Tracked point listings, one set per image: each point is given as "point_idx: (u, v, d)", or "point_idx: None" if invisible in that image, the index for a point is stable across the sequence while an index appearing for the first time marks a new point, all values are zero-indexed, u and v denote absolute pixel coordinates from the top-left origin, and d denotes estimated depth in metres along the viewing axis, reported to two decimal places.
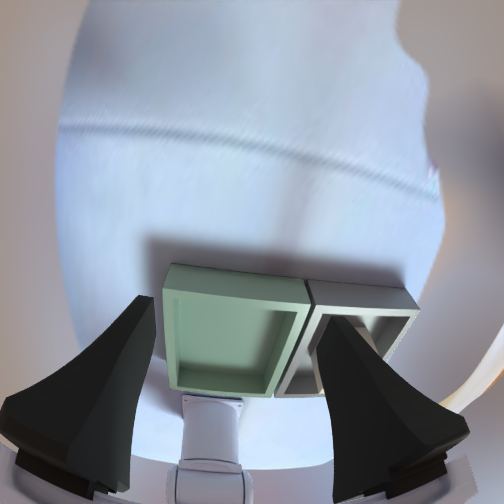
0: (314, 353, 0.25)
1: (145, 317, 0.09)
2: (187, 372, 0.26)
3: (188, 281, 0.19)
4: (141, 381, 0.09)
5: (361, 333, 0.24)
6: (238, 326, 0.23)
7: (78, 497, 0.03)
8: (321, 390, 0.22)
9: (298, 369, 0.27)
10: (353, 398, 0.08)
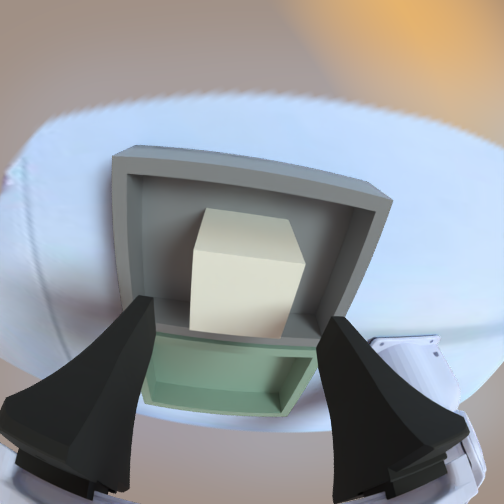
0: None
1: (145, 317, 0.09)
2: (281, 392, 0.24)
3: None
4: (141, 381, 0.09)
5: None
6: (203, 356, 0.21)
7: (78, 497, 0.03)
8: (269, 336, 0.13)
9: (302, 295, 0.18)
10: (353, 398, 0.08)
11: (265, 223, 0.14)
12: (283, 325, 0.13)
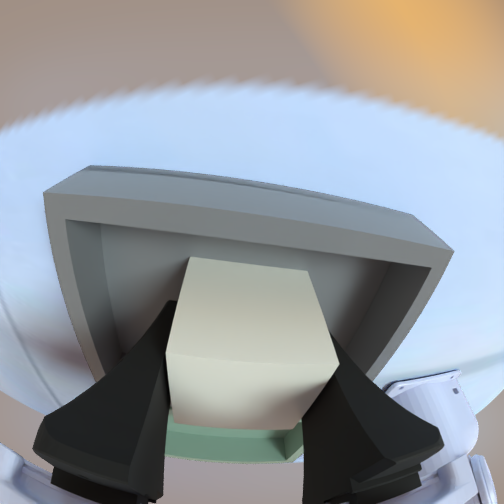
0: None
1: None
2: (286, 438, 0.19)
3: None
4: None
5: None
6: None
7: (78, 497, 0.03)
8: (279, 428, 0.09)
9: None
10: (321, 401, 0.08)
11: (276, 282, 0.10)
12: (298, 419, 0.09)
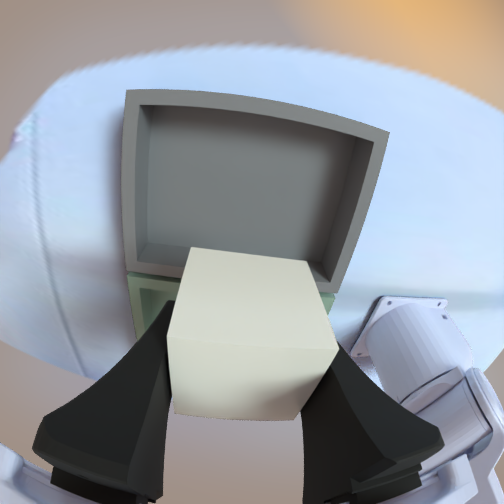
0: None
1: None
2: None
3: None
4: None
5: None
6: None
7: (78, 497, 0.03)
8: (280, 419, 0.09)
9: (307, 239, 0.18)
10: (321, 401, 0.08)
11: (276, 271, 0.10)
12: (299, 409, 0.09)
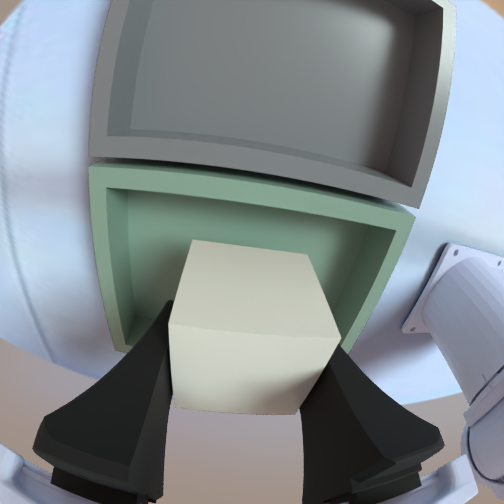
0: None
1: None
2: None
3: None
4: None
5: None
6: None
7: (78, 497, 0.03)
8: (281, 413, 0.09)
9: (369, 133, 0.11)
10: (321, 401, 0.08)
11: (277, 263, 0.10)
12: (300, 402, 0.09)
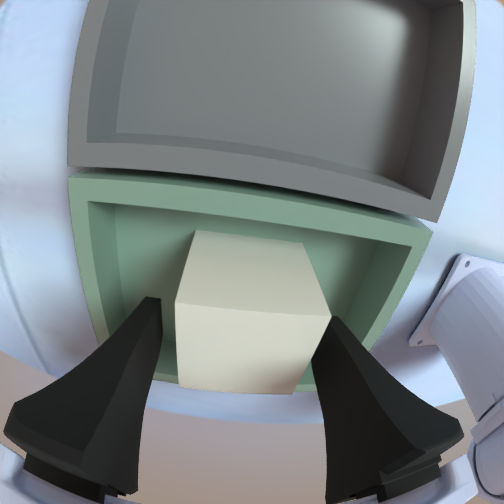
0: None
1: (153, 318, 0.09)
2: None
3: None
4: (149, 382, 0.09)
5: None
6: None
7: (78, 497, 0.03)
8: (279, 392, 0.10)
9: (383, 137, 0.10)
10: (345, 399, 0.08)
11: (273, 251, 0.11)
12: (297, 381, 0.10)
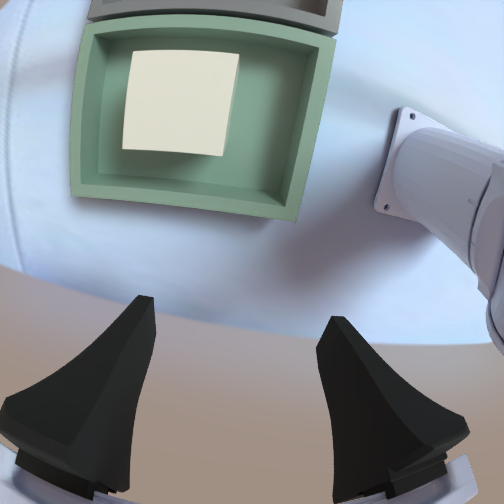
0: None
1: (145, 317, 0.09)
2: (283, 182, 0.16)
3: None
4: (141, 381, 0.09)
5: None
6: None
7: (78, 497, 0.03)
8: (210, 153, 0.11)
9: (293, 1, 0.11)
10: (353, 398, 0.08)
11: None
12: (223, 134, 0.11)
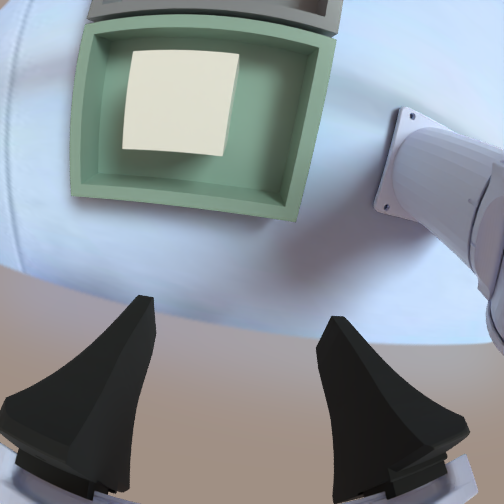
0: None
1: (145, 317, 0.09)
2: (283, 182, 0.16)
3: None
4: (141, 381, 0.09)
5: None
6: None
7: (78, 497, 0.03)
8: (210, 153, 0.11)
9: (294, 1, 0.11)
10: (353, 398, 0.08)
11: None
12: (224, 133, 0.11)
